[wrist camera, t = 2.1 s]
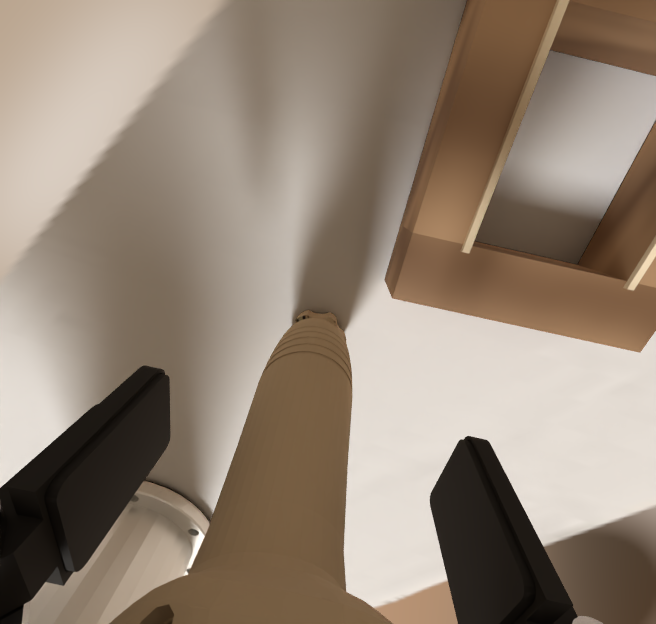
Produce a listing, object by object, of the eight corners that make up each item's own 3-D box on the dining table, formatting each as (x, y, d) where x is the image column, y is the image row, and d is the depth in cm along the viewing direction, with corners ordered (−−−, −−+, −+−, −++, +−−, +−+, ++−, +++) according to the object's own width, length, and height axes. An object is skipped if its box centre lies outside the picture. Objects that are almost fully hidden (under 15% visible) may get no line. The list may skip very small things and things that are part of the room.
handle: (250, 319, 18) (-65, 760, 4) (348, 273, 17) (359, 709, 3) (290, 381, 20) (156, 853, 6) (383, 343, 18) (502, 850, 4)
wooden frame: (592, 325, 17) (644, 354, 14) (384, 279, 17) (392, 299, 14) (790, 3, 12) (942, -60, 9) (489, -75, 11) (540, -169, 8)
